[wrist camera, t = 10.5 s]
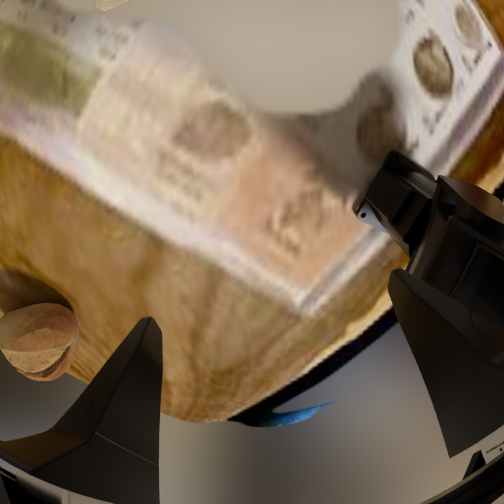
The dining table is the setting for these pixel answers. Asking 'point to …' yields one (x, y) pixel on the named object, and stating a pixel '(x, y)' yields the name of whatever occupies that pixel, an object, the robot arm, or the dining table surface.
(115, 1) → the gear board
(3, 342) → the bread roll
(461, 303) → the robot arm
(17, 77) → the dining table surface
